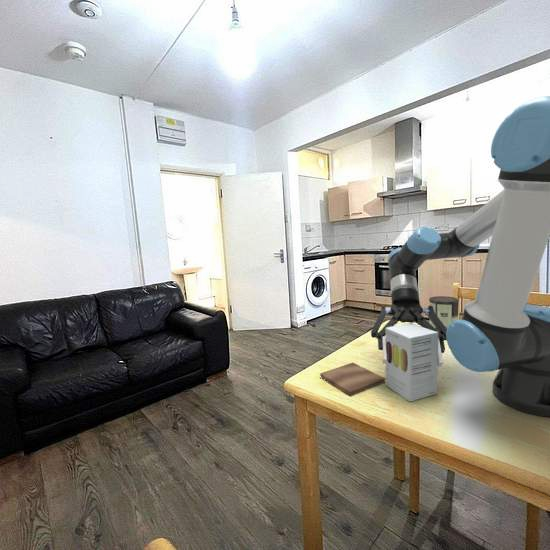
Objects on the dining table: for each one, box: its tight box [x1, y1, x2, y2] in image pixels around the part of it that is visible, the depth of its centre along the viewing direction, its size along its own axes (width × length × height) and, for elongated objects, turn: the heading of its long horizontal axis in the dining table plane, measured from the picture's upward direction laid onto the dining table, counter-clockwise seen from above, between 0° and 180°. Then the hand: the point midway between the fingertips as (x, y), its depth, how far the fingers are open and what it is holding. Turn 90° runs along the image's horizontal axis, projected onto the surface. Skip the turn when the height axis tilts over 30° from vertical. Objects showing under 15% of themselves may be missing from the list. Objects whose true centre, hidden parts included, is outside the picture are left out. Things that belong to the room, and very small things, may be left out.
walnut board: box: [320, 362, 386, 397], centre depth 88 cm, size 13×13×1 cm
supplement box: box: [385, 322, 439, 402], centre depth 79 cm, size 10×9×17 cm
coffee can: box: [428, 295, 460, 330], centre depth 120 cm, size 10×10×14 cm
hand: (412, 363), depth 77 cm, fingers closed on supplement box, 12 cm apart
